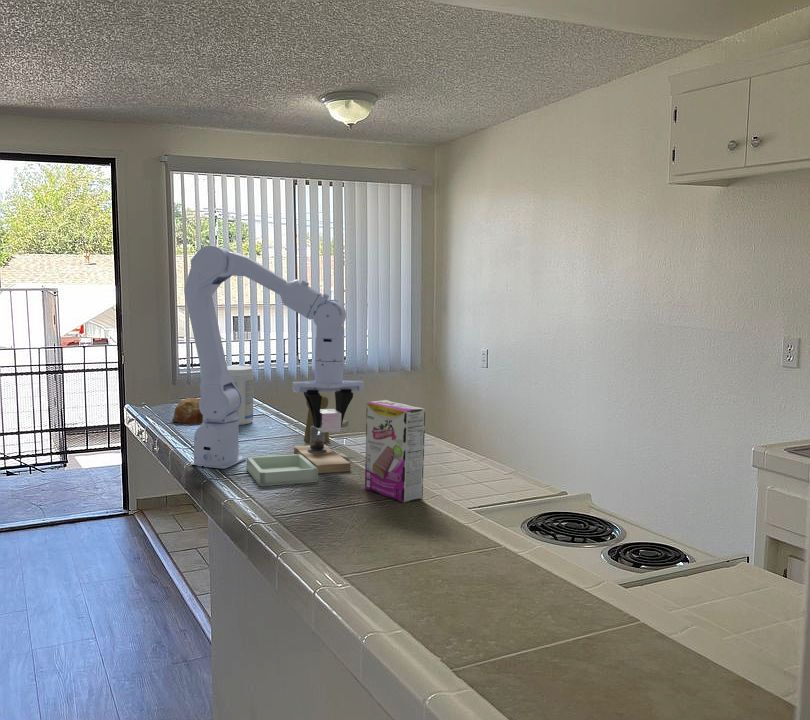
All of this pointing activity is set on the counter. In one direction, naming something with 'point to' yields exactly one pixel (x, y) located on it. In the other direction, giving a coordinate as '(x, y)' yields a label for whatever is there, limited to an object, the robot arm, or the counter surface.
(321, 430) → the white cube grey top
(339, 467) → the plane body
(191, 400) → the bread roll
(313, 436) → the lever
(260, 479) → the tray
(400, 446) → the candy bar box
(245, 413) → the supplement tub
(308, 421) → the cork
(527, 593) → the counter surface
